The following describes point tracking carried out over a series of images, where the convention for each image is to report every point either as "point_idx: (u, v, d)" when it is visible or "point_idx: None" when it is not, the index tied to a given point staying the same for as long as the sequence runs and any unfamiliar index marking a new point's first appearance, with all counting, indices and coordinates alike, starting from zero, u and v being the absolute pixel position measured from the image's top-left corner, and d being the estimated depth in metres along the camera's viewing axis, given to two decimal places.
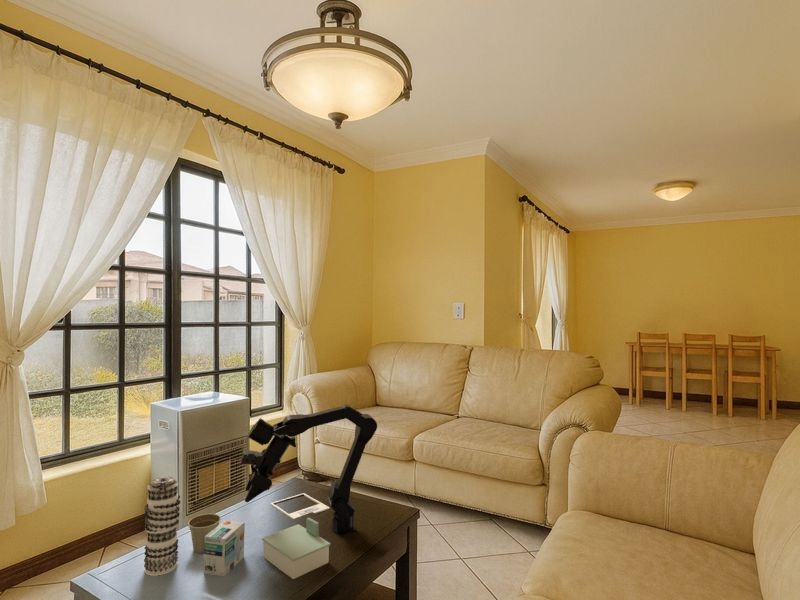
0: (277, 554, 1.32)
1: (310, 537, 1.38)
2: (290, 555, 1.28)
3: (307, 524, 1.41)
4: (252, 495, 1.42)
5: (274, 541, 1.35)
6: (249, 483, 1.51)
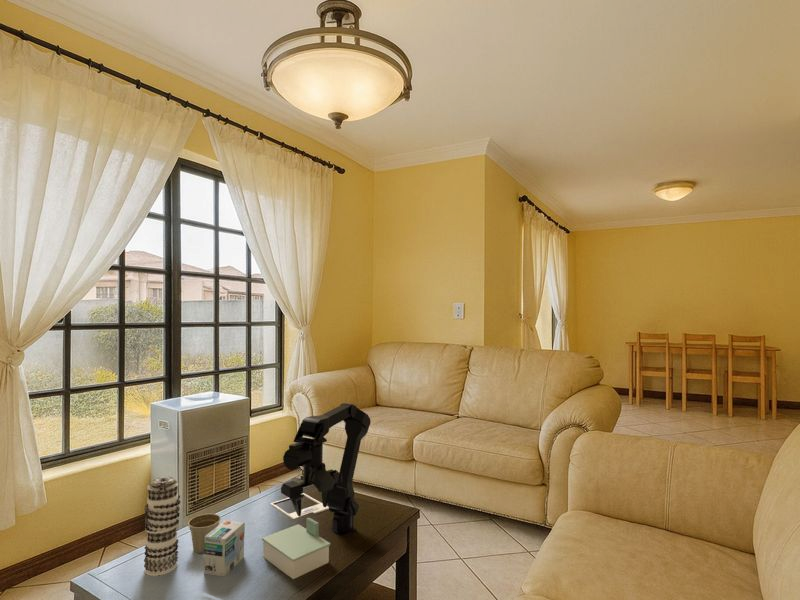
0: (277, 554, 1.32)
1: (310, 537, 1.38)
2: (290, 555, 1.28)
3: (307, 524, 1.41)
4: None
5: (274, 541, 1.35)
6: None
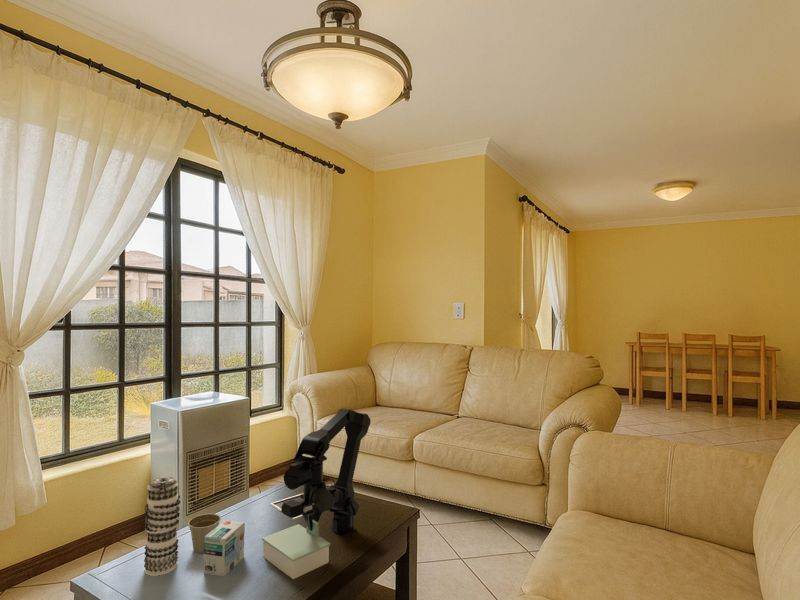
0: (277, 554, 1.32)
1: (310, 537, 1.38)
2: (290, 555, 1.28)
3: None
4: None
5: (274, 541, 1.35)
6: None
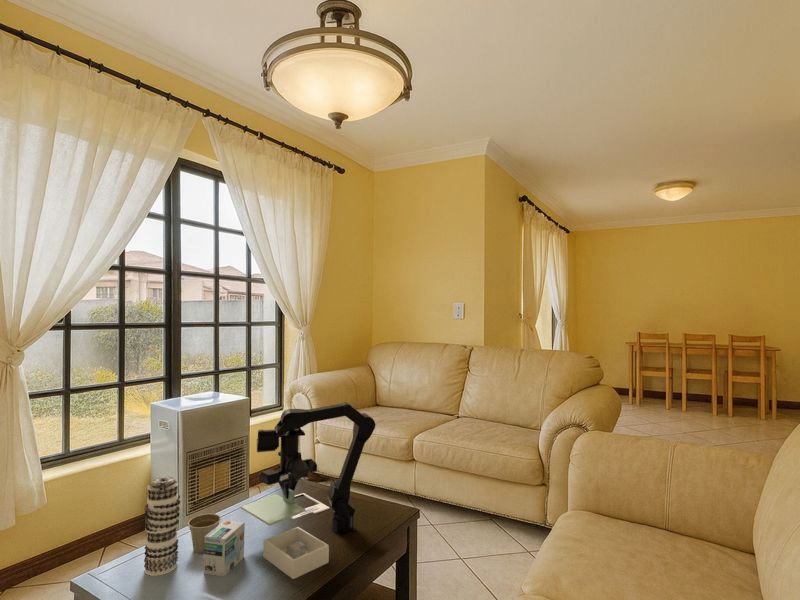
0: (277, 554, 1.32)
1: (286, 504, 1.47)
2: (267, 520, 1.37)
3: None
4: None
5: (252, 509, 1.44)
6: None
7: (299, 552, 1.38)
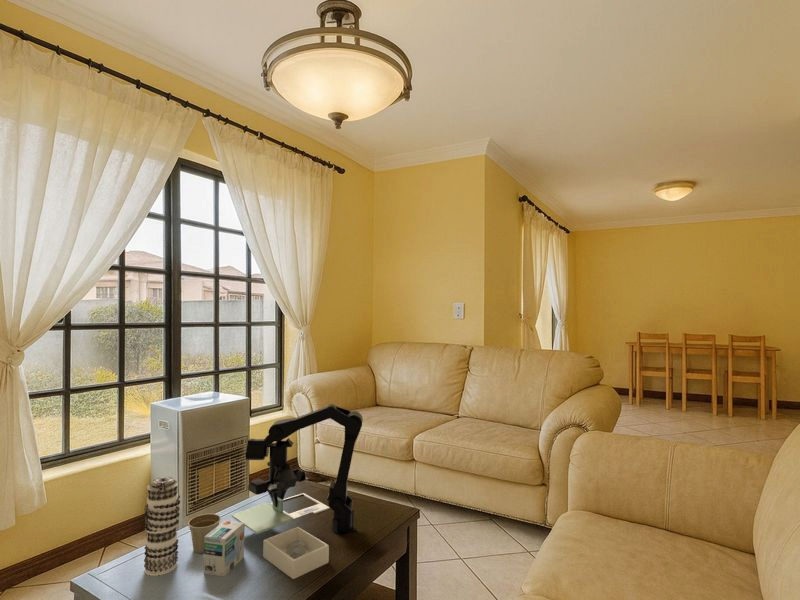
0: (277, 554, 1.32)
1: (275, 513, 1.52)
2: (255, 529, 1.42)
3: None
4: None
5: (242, 517, 1.49)
6: None
7: (299, 552, 1.38)
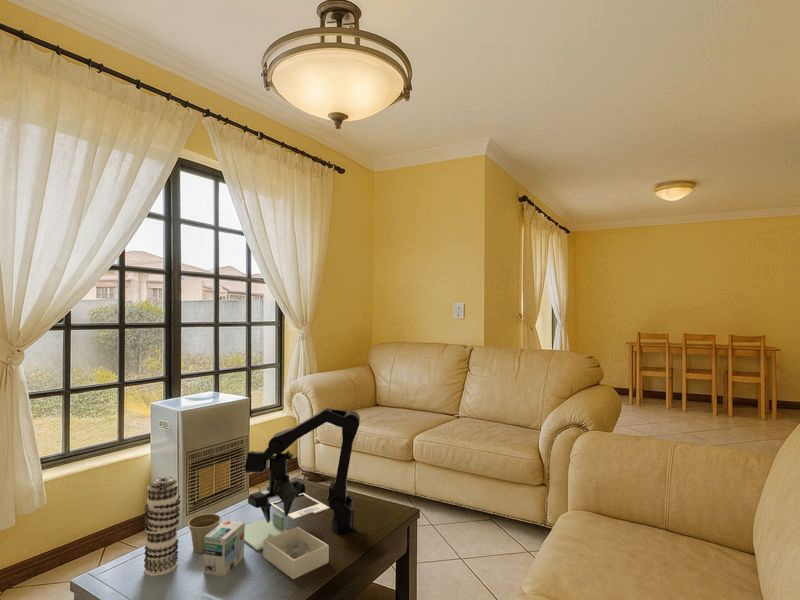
0: (277, 554, 1.32)
1: (276, 529, 1.52)
2: (255, 545, 1.42)
3: (274, 518, 1.55)
4: None
5: None
6: None
7: (299, 552, 1.38)
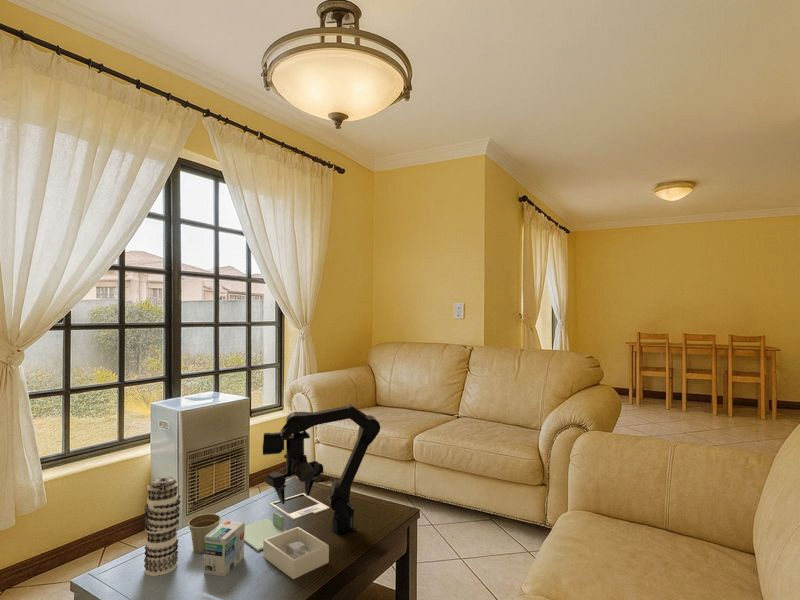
0: (277, 554, 1.32)
1: (276, 529, 1.52)
2: (255, 545, 1.42)
3: (274, 518, 1.55)
4: None
5: None
6: None
7: (299, 552, 1.38)
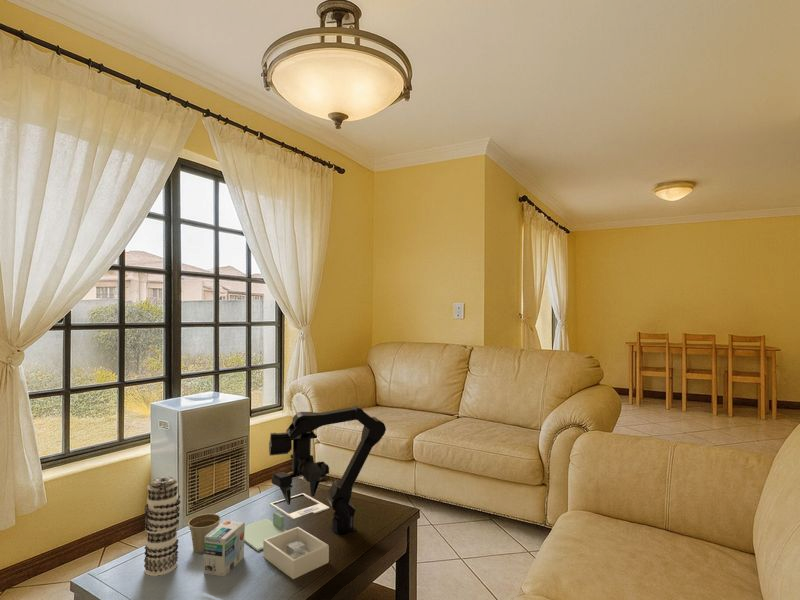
0: (277, 554, 1.32)
1: (276, 529, 1.52)
2: (255, 545, 1.42)
3: (274, 518, 1.55)
4: None
5: None
6: None
7: (299, 552, 1.38)
